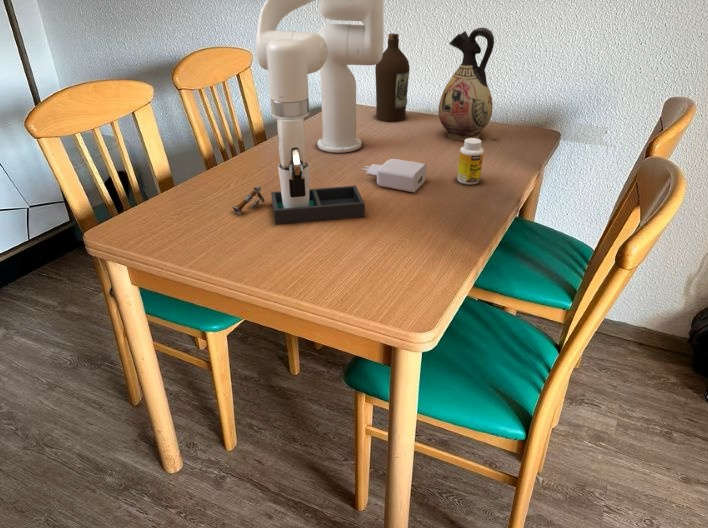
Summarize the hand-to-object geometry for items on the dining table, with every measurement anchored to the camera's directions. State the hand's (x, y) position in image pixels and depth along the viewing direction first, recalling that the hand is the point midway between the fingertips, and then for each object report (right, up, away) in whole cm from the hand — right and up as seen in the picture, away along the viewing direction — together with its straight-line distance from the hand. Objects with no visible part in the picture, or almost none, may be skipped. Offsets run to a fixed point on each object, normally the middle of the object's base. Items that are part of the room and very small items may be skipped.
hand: (295, 187), depth 124 cm
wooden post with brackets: (-11, -4, +5) cm, 13 cm away
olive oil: (+25, +35, +63) cm, 76 cm away
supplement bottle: (+41, +5, +18) cm, 45 cm away
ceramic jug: (+46, +24, +46) cm, 70 cm away
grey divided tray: (+4, -4, +4) cm, 7 cm away
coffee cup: (0, -4, +3) cm, 5 cm away
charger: (+22, +5, +17) cm, 28 cm away
